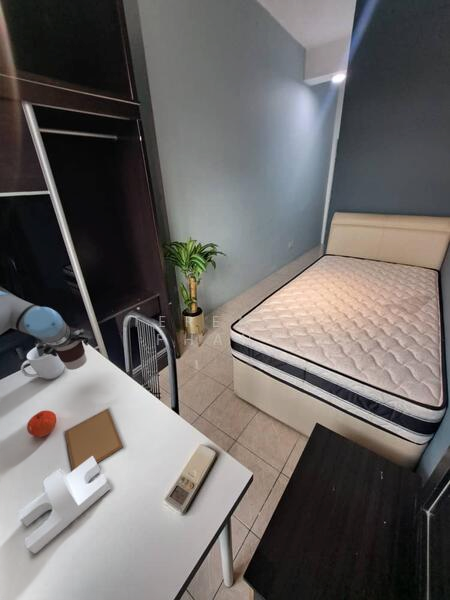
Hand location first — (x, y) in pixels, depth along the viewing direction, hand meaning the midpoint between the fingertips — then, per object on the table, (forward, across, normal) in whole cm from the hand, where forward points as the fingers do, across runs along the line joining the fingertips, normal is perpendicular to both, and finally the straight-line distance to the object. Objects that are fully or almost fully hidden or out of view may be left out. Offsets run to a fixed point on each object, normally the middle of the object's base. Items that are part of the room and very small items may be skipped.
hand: (70, 347), depth 95 cm
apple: (+1, -14, -25) cm, 28 cm away
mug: (+22, -12, -3) cm, 26 cm away
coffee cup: (+2, 0, -6) cm, 7 cm away
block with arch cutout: (-20, -9, -45) cm, 50 cm away
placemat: (-8, -1, -34) cm, 35 cm away
